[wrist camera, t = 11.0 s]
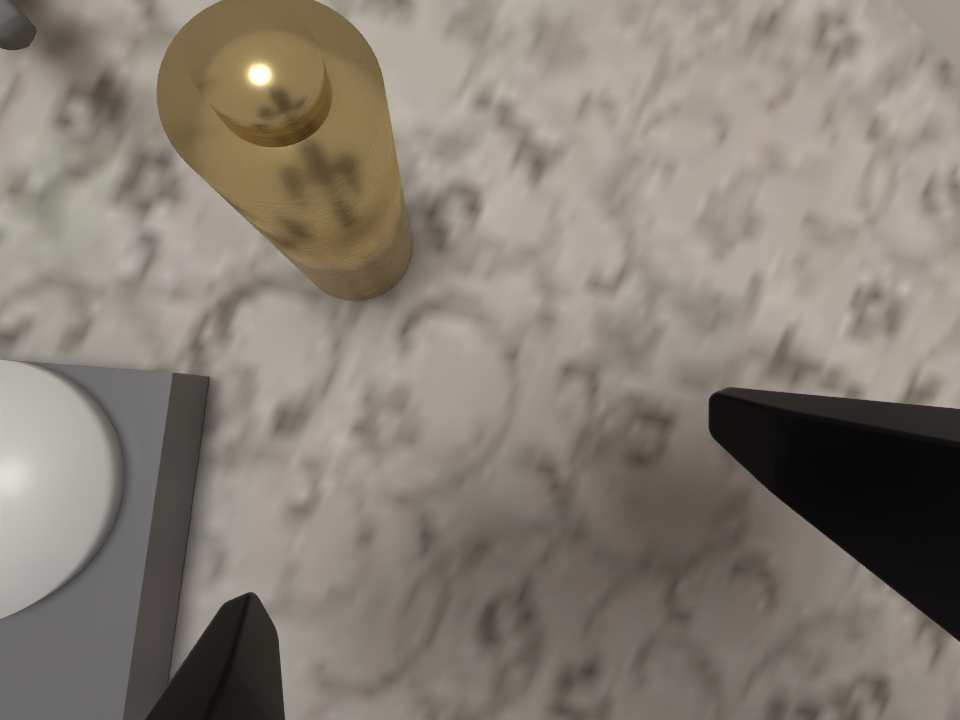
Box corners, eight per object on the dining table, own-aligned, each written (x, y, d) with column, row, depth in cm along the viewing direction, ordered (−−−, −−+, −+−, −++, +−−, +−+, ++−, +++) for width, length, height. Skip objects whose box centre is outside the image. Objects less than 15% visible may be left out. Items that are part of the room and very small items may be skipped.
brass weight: (431, 226, 19) (421, 22, 9) (377, 320, 18) (299, 218, 8) (334, 173, 19) (210, -100, 9) (276, 266, 18) (69, 93, 8)
